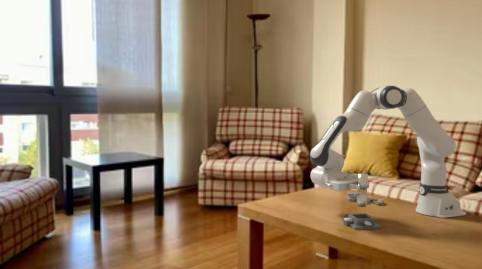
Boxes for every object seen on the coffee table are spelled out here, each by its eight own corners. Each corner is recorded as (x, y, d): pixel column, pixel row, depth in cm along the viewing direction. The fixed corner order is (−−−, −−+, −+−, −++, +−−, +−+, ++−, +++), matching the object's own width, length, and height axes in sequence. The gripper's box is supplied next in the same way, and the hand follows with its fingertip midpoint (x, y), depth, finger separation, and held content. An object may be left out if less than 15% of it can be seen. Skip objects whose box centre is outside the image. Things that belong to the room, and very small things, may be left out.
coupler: (363, 204, 183) (365, 173, 181) (368, 206, 179) (369, 174, 177) (355, 204, 182) (356, 173, 180) (359, 207, 178) (360, 175, 177)
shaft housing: (366, 219, 188) (367, 211, 188) (382, 229, 175) (382, 221, 174) (338, 220, 186) (339, 212, 186) (352, 230, 172) (352, 222, 172)
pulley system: (365, 209, 209) (388, 205, 214) (365, 200, 208) (388, 196, 214) (332, 198, 234) (353, 195, 240) (332, 190, 233) (353, 187, 239)
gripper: (323, 176, 184) (348, 182, 172) (354, 172, 195) (379, 177, 184) (323, 190, 184) (347, 197, 173) (353, 185, 196) (378, 191, 185)
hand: (364, 187), depth 179 cm, fingers closed on coupler, 4 cm apart
